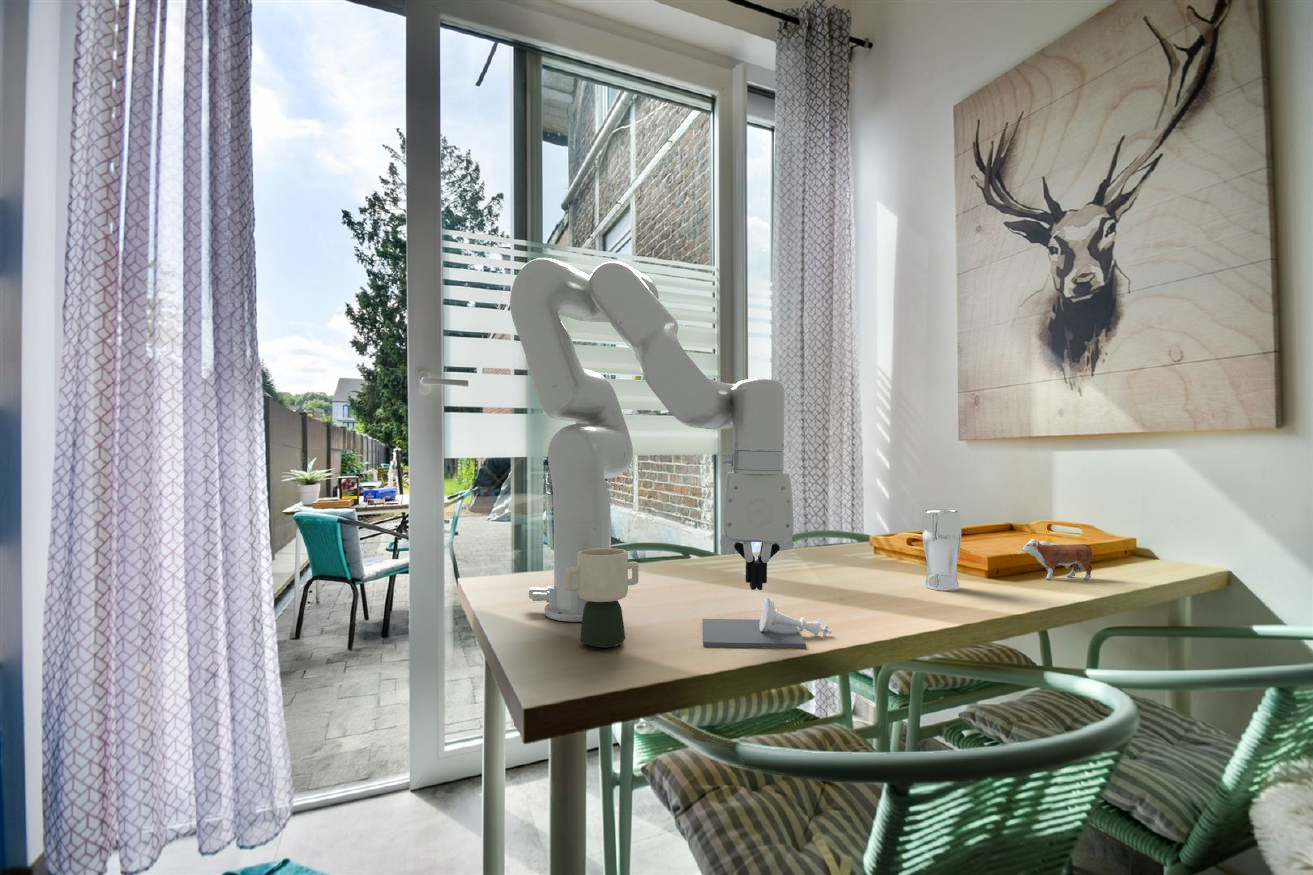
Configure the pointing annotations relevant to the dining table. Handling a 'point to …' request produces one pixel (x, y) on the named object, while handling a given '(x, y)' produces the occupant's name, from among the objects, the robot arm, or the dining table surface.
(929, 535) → the beer glass
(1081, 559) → the bull figurine
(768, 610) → the chess piece
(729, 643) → the mat
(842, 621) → the dining table surface
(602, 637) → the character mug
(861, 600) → the dining table surface
